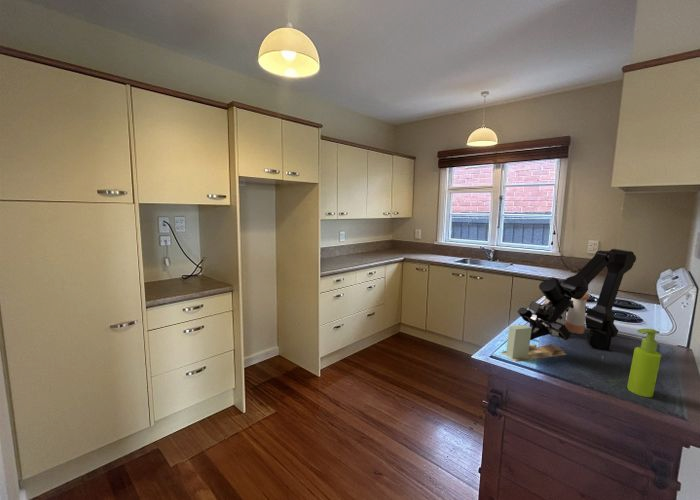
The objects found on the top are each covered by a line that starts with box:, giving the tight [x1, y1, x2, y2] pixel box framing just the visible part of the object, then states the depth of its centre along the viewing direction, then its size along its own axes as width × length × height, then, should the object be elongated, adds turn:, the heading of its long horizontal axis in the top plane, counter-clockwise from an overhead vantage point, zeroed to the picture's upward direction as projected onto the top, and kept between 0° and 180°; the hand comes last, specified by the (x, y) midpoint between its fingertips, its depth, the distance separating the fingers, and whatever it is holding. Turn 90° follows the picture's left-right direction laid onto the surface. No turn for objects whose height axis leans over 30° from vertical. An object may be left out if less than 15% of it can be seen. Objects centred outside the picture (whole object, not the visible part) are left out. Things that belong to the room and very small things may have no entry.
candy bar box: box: [543, 296, 568, 337], centre depth 139 cm, size 11×5×16 cm, turn 168°
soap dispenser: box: [626, 328, 662, 398], centre depth 95 cm, size 6×7×20 cm
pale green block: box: [505, 323, 532, 360], centre depth 114 cm, size 7×3×11 cm, turn 106°
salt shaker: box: [565, 292, 590, 335], centre depth 140 cm, size 7×7×19 cm
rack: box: [500, 344, 567, 363], centre depth 117 cm, size 24×7×2 cm, turn 106°
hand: (527, 339), depth 115 cm, fingers closed, pressing on pale green block
